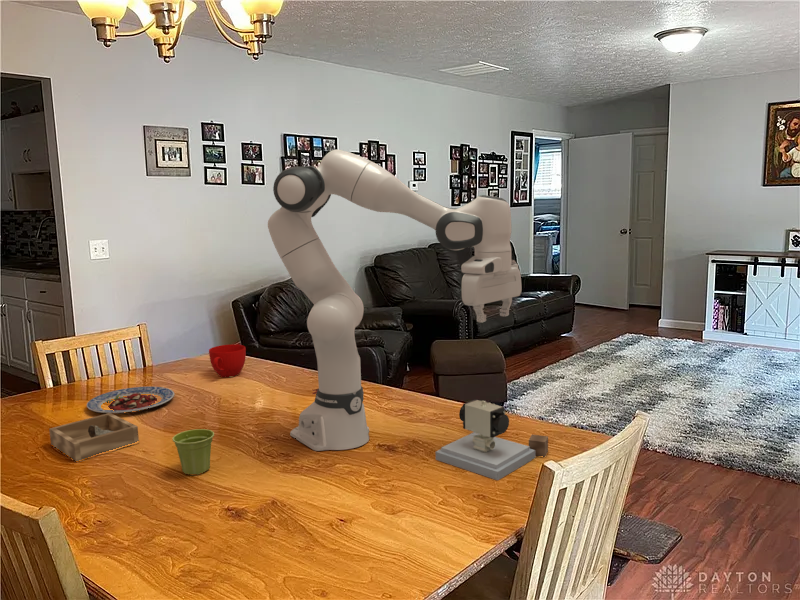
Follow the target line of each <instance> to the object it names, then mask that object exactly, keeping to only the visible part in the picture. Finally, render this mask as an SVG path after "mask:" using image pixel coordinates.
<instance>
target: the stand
mask: <svg viewBox="0 0 800 600" xmlns="http://www.w3.org/2000/svg"><path fill="white" fill-rule="evenodd" d="M475 435H479V433H478V434H476V433H475V432H473V431H472V432H471V433H469V434H467V435H464V436H463V437H461V438H459V439H456V440H454V441H452V442H450V443H447V444H445V445H444V446H441V447H440V449H438V450H436V451H435V460H436V461H438V462H442V463H445V464H448V465H451V466H453V467H456V468H459V469H463V470H466V471H468V472H472V473H474V474H478V475H480V476H484V477H487V478H489V479H492V480H496V481H499V480H501V479H502V478H504V477H506V476H508V475H509V474H511V473H512V472H515V471H516V470H518V469H520V468H521V467H524V465H526V464H528V463H529V462H532V461H533V460H535V459H536V456H535V450H533V449H530V446H529V445H527V444H522V443H519V442H515V441H512V440H508V439H504V438H500V437H498V436H496V437H494V439H493V440H494V441H495V447H494V449H493V450H489V451H487V452H486V453H485V452H482V451H479V450H476V449H474V447H473V446H474V444H473V436H475ZM534 458H535V459H534ZM532 459H533V460H532Z"/></svg>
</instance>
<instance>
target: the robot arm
mask: <svg viewBox="0 0 800 600" xmlns="http://www.w3.org/2000/svg"><path fill="white" fill-rule="evenodd" d="M272 188H273V190H272V191H273V195H274V197H275V198H274V199H275V200H276V202H277V203H278V204H279V205H280V206H281V207H279V209H277V210H276V211H274V212H273V213H272V214H271V215H270V217H269V218H268V221H267V229H268V232H269V235H270V237H271V240H272V243H273V246H274V248H275V251H276V253H277V254H278V256H279V257H280V258H279V259H281V262H282V263H283V265H284V267H285V269H286V270H287V273H288V274H289V276H290V278H291V280H292V281H293V283H294V286H296V287H297V288H298V290H300V291H302V293H304V295H305V296H306V297H307V298H308V300H310V302H311V303H312V304H313V306H312V308H311V309H310V312H309V313H308V316H307V319H306V326H307V331H308V332H309V334H310V335H311V340H312V342H313V343H312V345H313V347H314V350H315V356H316V363H317V377H318V379H317V380H318V388H316V389H312V395H315V398H314V401H313V402H312V403H311V404H309V405H308V406H307V407H306V408H305V409H303V410H301V412H300V414H299V417H298V426H296V427H295V428H292V429H291V430H290V433H289V434H290V436H291V437H292V438H293V439H295V438H296V439H295V440H297V441H299V443H302V444H303V445H305V446H306V447H308V448H310V449H312V451H315V452H317V451H318V452H320V451H329V450H331V451H343V450H351V449H354V448H355V449H356V448H359V447H361V446H363V445H365V444H367V443H368V442H369V440H370V435H369V432H370V427H369V426H368V425H367V418H366V417H367V416H366V411H365V404H364V403H363V401H364V388H363V386H362V376H361V375H362V373H361V369H362V368H361V357H360V355H359V352H358V347H357V343H356V337H355V333H356V332H355V329H356V328H358V326H359V325H360V324H361V322H362V319H363V317H364V311H365V309H364V307H365V306H364V302H363V300H362V298H360V296H359V295H358V294H357V293H355V291H354V289H352V288H353V287H352V286H351V285H350V284H349V282H348V281H347V280H346V278H345V277H344V276H343V275H342V273H341V272H340V271H339V270H338V268H337V267H336V265H335V264H334V262H333V260H332V258H331V257H330V255H329V253H328V251H327V249H326V248H325V246H324V244H323V242H322V240H321V239H320V237H319V235H318V234H317V231H316V230H315V227H314V225H313V222H312V218H314V217H316V216H317V214H318V213H319V212H320V211H321V210H322V209H323V208H324V207H325V206H326V205H327V204H328V202H329V200H330V199H331V196H332V195H335V196H338V197H341V198H343V199H345V200H347V201H349V202H351V203H353V204H355V205H357V206H359V207H361V208H364V209H367V210H370V211H373V212H377V213H392V214H399V215H403V216H406V217H408V218H410V219H413V220H415V221H417V222H419V223H420V224H422V225H425V226H427V227H428V228H431V229H433V230H434V231H435V237H436V239H437V241H438V243H439V244H440V245H441V246H442V247H444V248H446V249H448V250H451V251H461V250H464V249H466V248H474V255H473V256H471V257H470V258H469V259H468V260H466V261H465V262H463V263H462V264H461V267H460V268H461V269H460V270H461V273H463V276H462V278H461V300H462V303H463V304H464V306H470V307H471V306H472V307H473V311H474V312H475V315H476V322H477V323H484V322H486V321H487V314H485V313H484V312H485V311H484V309H485V304H491V303H495V302H499V301H501V302H502V305H501V308H500V309H499V316H500V317H508V316H509V315H510V309H511V308H510V307H511V306H512V303H513V298H516V297H520V296H521V294H522V290H523V289H522V278H521V277H522V276H521V271H520V269H519V264H518V263H517V262H516V260H514V259H512V246H511V236H512V212H511V208H510V204H509V202H507V200H505V199H504V198H502V197H498V196H492V195H485V194H481V195H478V196H477V197H476V198H475V199H473V200H472V201H470V202H467V204H464V205H462V206H461V207H457V208H456V207H455V208H453V207H448V206H444V205H441V204H440V203H438V202H435V201H433V200H431V199H430V198H427V197H425V196H423V195H421V194H419V193H417V192H415V191H414V190H412V188H410V187H408V186H407V184H405V183H403V182H402V181H401V180H400V179H399V178H398V177H396V176H395V175H394V174H393V173H391V172H390V171H388V170H387V169H386V168H384V167H382V166H381V165H379V164H377V163H375V162H374V161H371V160H369V159H368V158H365V157H362V156H360V155H357V154H355V153H352V152H350V151H346V150H344V149H343V150H342V149H338V148H337V149H332V150H330V151H329V152H328V153H326V154H325V155H324V156H323V158H322V159H321V161H320V164H319V165H318V166H316V167H315V166H314V165H304V166H293V167H288V168H287V169H284V170H283V171H281V172H280V173H279V174H278V175H277V176H276V178H275V180H274V182H273V187H272Z"/></svg>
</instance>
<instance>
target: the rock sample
mask: <svg viewBox="0 0 800 600" xmlns="http://www.w3.org/2000/svg"><path fill="white" fill-rule="evenodd" d="M88 432H89V435H90V437H91V438H92V437H96V436H99V435H103V434H106V433H110V432H113V431H110V430H101V429H100V428H99V427H98V426H93V425H90V426H89V429H88Z"/></svg>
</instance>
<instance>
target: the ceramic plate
mask: <svg viewBox="0 0 800 600" xmlns="http://www.w3.org/2000/svg"><path fill="white" fill-rule="evenodd" d="M141 394H151V395H148V396H147V395H141ZM152 394H154V395H158V396H160V397H161V398H162V399H161V401H160V402H158V403H156V404H153V405H151V404H152V403H155V401H157V398H156V397H155V396H153V395H152ZM123 396H127V397H123ZM119 397H120V398H119ZM174 397H175V392H174V390H173V389H171V388H168V387H163V386H136V387H135V386H134V387H127V388H121V389H117V390H112V391H109V392H104V393H102V394H99V395H97V396H95V397H93V398H92V399H90V400H88V401H87V403H86V408H88V410H90V411H92V412H96V413H103V414H107V413H111V414H125V413H124V412H132V411H138V412H140V411H139V410H142V411H145V410H144V409H146V410H149V409H152V408H155V407H158V406H161V405H163V404H166V403H167V402H169V401H171V400H172V399H173V398H174ZM111 399H114V400H115V401H113V400H111ZM108 401H109V403H110V402H111V401H113V402H112V403H111V404H110V405H109V406H108V407H109V408H110V409H113V410H114V411H113V410H103V409H102V408H101V405H102V404H103V403H105V402H107V403H108ZM149 405H150V406H149ZM148 408H149V409H148ZM132 413H133V412H132Z"/></svg>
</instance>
